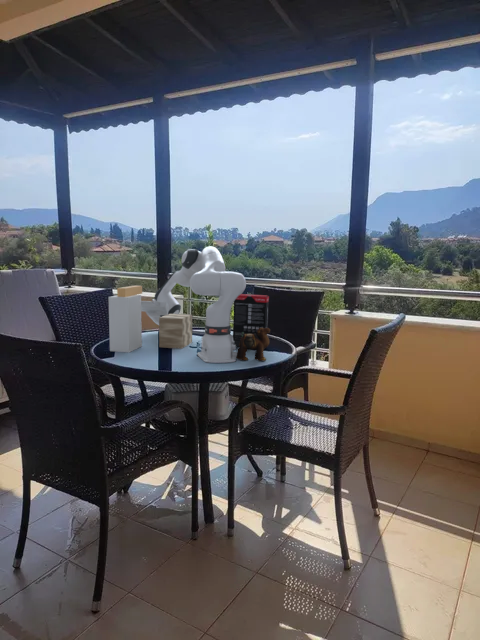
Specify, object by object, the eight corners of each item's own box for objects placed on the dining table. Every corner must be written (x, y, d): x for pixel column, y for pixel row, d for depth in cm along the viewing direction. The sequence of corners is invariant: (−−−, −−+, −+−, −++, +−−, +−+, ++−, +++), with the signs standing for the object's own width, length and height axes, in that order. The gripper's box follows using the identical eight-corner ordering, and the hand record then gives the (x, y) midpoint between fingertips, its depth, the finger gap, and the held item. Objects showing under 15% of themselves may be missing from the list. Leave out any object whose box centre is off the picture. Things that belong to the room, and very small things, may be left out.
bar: (135, 293, 226) (134, 285, 226) (142, 293, 225) (142, 285, 225) (117, 296, 208) (117, 288, 207) (125, 296, 207) (125, 288, 206)
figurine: (269, 363, 193) (270, 329, 191) (234, 361, 194) (235, 328, 192) (269, 358, 202) (270, 325, 200) (237, 356, 204) (237, 324, 201)
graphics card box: (267, 347, 224) (269, 294, 220) (265, 350, 218) (266, 295, 214) (235, 345, 228) (236, 293, 224) (232, 348, 222) (233, 294, 218)
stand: (123, 345, 223) (122, 294, 219) (141, 346, 221) (141, 295, 217) (109, 351, 210) (108, 296, 206) (129, 352, 208) (128, 297, 204)
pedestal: (170, 341, 236) (170, 313, 233) (192, 342, 233) (192, 314, 231) (159, 347, 220) (159, 317, 218) (182, 348, 218) (182, 318, 216)
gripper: (137, 304, 250) (128, 294, 237) (171, 306, 246) (163, 295, 233) (135, 314, 248) (125, 304, 235) (169, 316, 243) (161, 306, 231)
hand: (145, 300), depth 234 cm, fingers open, 8 cm apart
